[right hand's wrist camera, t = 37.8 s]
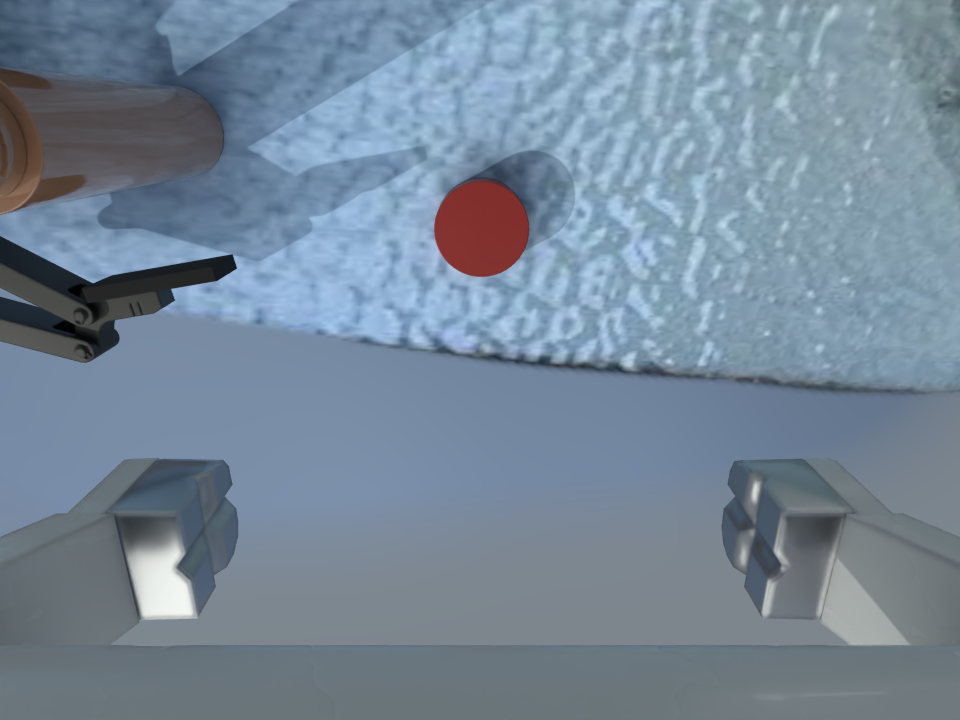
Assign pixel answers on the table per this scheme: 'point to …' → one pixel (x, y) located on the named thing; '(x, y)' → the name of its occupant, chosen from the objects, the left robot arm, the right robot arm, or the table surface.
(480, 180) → the lid
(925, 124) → the table surface
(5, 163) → the brown bottle
